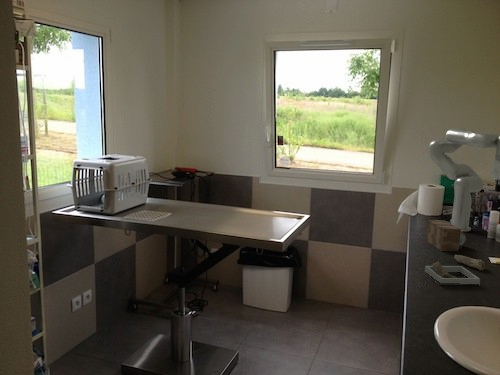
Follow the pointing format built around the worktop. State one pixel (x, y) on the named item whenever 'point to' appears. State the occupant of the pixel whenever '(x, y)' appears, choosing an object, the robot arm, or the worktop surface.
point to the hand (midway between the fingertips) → (498, 191)
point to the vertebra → (441, 271)
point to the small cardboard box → (443, 235)
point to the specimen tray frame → (470, 280)
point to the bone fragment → (471, 262)
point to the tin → (462, 239)
